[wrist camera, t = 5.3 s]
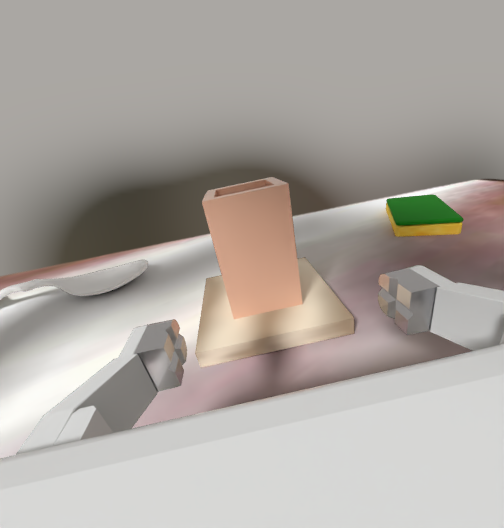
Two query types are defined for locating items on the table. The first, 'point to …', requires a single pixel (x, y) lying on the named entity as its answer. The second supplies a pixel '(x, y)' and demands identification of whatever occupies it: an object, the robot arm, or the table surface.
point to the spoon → (86, 281)
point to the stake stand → (269, 321)
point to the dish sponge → (422, 216)
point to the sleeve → (255, 245)
